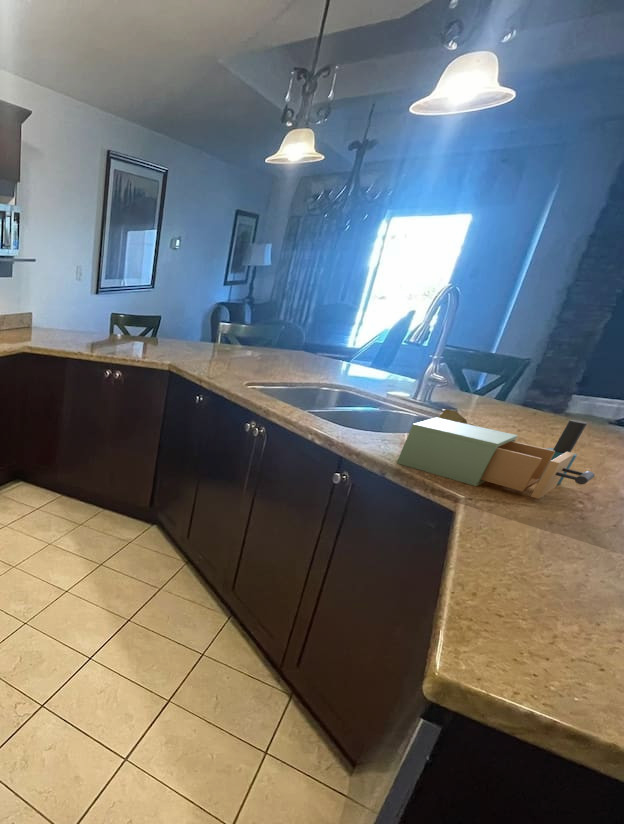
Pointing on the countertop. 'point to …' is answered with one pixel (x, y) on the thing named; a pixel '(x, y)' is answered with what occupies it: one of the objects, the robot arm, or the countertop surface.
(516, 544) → the countertop surface
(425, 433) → the cabinet
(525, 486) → the drawer
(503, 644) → the countertop surface
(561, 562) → the countertop surface
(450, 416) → the rock
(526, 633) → the countertop surface
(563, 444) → the dark grey teal stick
